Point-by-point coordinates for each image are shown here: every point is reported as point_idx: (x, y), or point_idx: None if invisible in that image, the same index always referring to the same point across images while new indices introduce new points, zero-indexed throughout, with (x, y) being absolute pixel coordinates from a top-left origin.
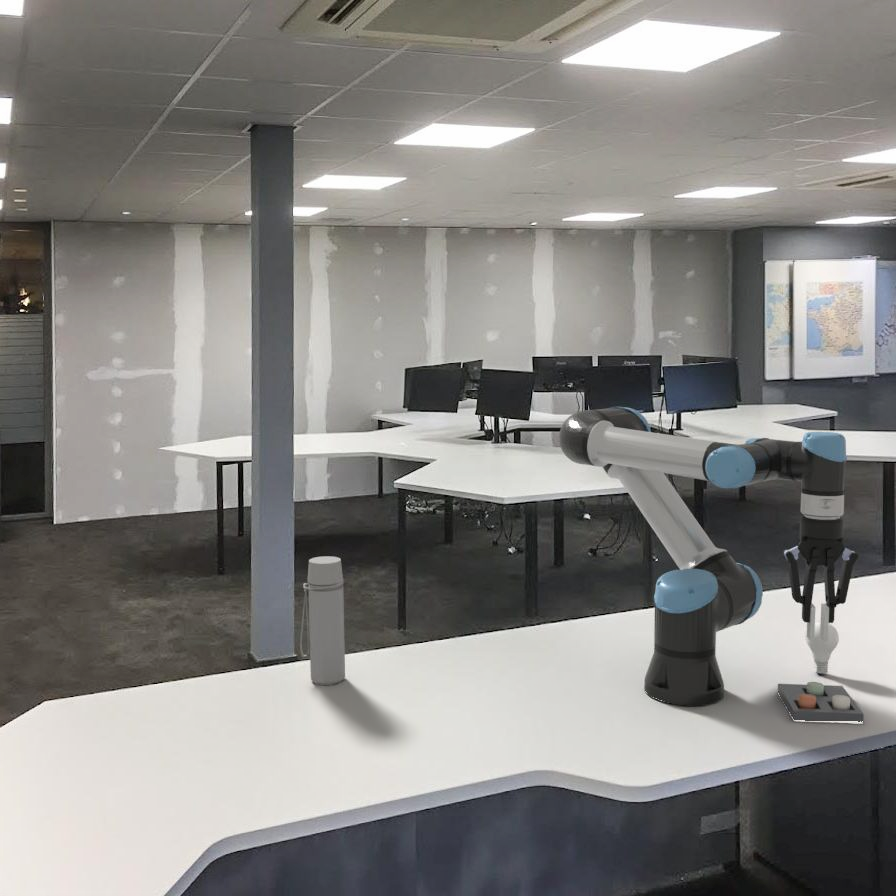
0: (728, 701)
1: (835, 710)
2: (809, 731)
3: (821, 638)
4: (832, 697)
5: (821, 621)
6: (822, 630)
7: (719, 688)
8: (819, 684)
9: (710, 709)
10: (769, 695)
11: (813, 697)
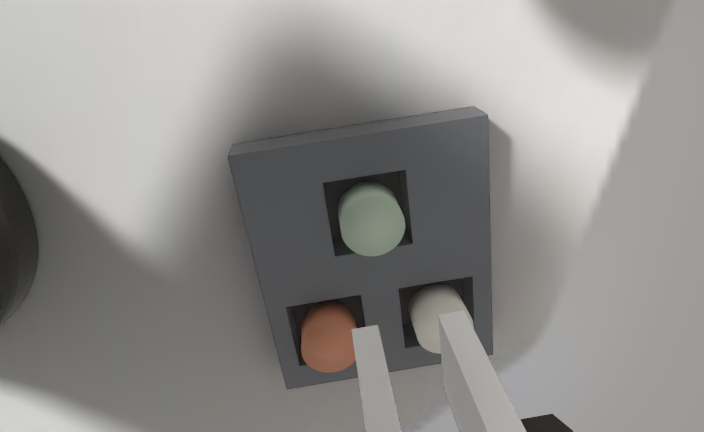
0: (65, 264)
1: (413, 352)
2: (326, 408)
3: (440, 344)
4: (416, 329)
5: (474, 421)
6: (458, 401)
7: (6, 300)
8: (389, 222)
9: (24, 342)
10: (204, 169)
11: (351, 350)
